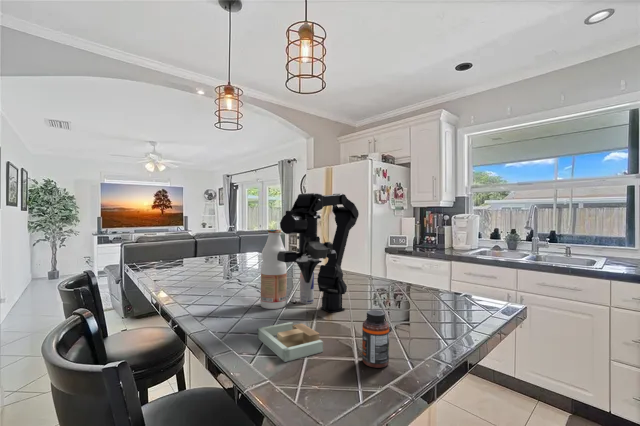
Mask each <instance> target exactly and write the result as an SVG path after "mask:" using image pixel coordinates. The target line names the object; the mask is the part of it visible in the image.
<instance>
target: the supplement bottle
mask: <svg viewBox="0 0 640 426" xmlns="http://www.w3.org/2000/svg"><path fill="white" fill-rule="evenodd" d="M385 315H386V313H385V312H384V311H382V310H380V309H379V310H377V309H369V310H368V311H366V319H365V320H364V321H363V322H362V326H361V327H362V329H361V330H362V339H361V341H362V343H361V359H362V363H364V365H366V366H367V367H370V368H372V369H373V368H375V369H381V368H385V367H387V366H388V365H389V363H390V362H389V361H390V326H389V323H388V322H387V321H386V320H385V319H386V316H385Z"/></svg>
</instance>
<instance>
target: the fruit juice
mask: <svg viewBox="0 0 640 426" xmlns="http://www.w3.org/2000/svg"><path fill="white" fill-rule="evenodd" d="M267 235H268V237H267V239H266V243H265V245H264V247H263V248H262V251H261V258H262V263H261V268H260V307H262V308H263V309H267V310H277V309H282V308H284V307H286V305H287V288H288V287H287V281H288V279H287V277H288V274H287V273H288V268H287V264H286V263H287V262H282V261H278V260H277V255H278V253H279V251H287V250H286V248H285V246H284V243H283V239H282V237H281V235H282V230H281V229H268V230H267Z"/></svg>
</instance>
